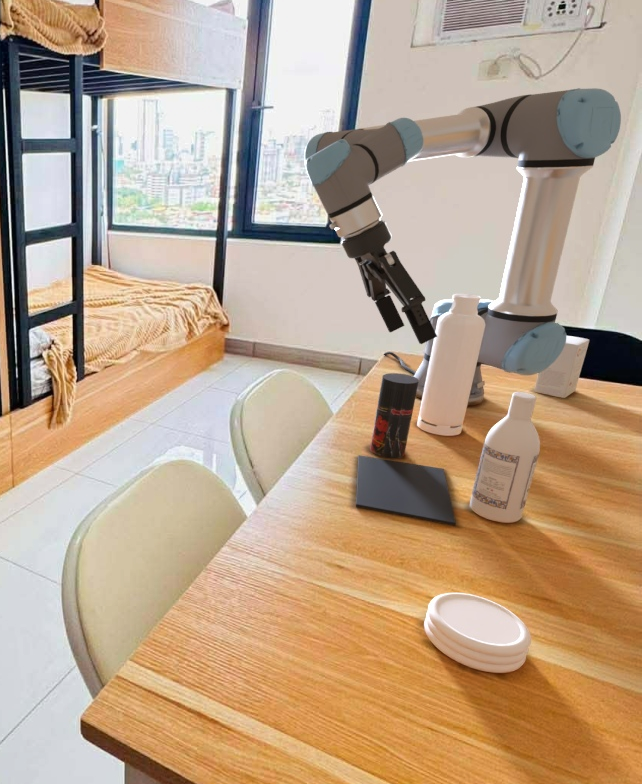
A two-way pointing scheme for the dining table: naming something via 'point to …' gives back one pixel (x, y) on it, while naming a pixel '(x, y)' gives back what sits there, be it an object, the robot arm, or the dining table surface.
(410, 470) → the mat
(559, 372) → the small box
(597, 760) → the dining table surface
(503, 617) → the coaster
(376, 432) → the deodorant
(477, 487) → the bath foam
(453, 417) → the bottle
